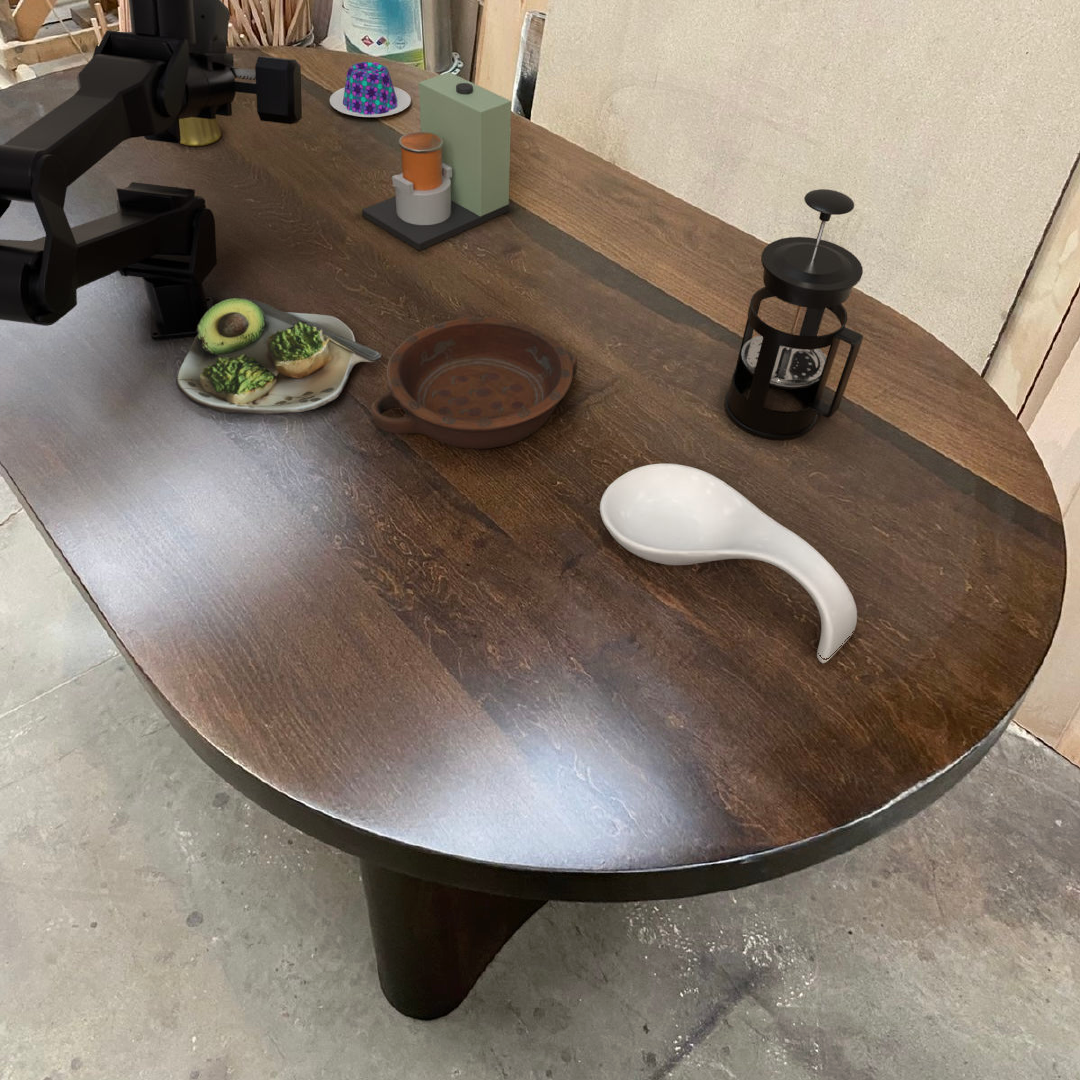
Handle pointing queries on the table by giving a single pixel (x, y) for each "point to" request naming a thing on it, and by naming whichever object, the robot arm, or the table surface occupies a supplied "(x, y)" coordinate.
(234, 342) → the avocado toast plate
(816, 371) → the french press
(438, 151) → the coffee pod
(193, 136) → the vase
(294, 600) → the table surface
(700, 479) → the spoon rest
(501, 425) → the dish
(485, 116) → the coffee maker
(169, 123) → the robot arm
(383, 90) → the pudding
